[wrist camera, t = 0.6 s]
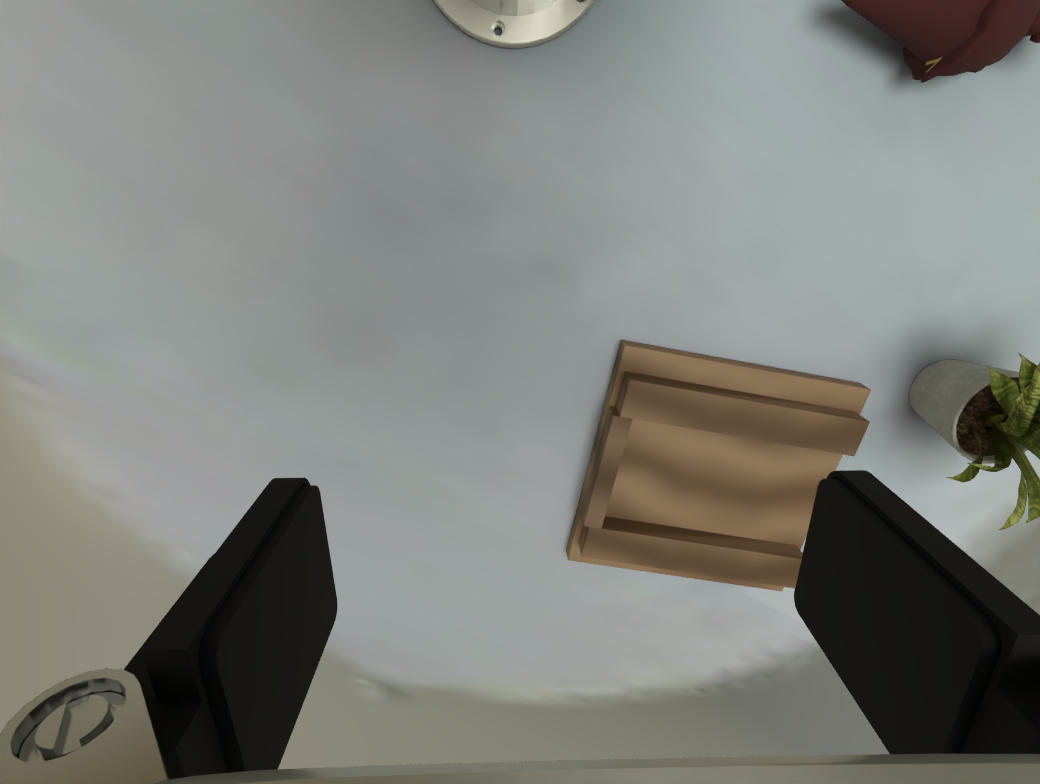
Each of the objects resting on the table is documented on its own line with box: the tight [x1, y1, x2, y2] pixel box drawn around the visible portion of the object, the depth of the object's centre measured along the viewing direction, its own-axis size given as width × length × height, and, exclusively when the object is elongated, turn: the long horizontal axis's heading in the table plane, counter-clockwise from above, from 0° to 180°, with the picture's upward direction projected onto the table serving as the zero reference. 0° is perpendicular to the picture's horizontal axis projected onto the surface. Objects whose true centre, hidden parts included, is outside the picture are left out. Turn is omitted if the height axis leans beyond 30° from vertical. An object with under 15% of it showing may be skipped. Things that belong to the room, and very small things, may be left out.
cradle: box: [566, 340, 870, 591], centre depth 47 cm, size 20×20×4 cm
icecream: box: [841, 0, 1040, 82], centre depth 34 cm, size 7×7×15 cm
